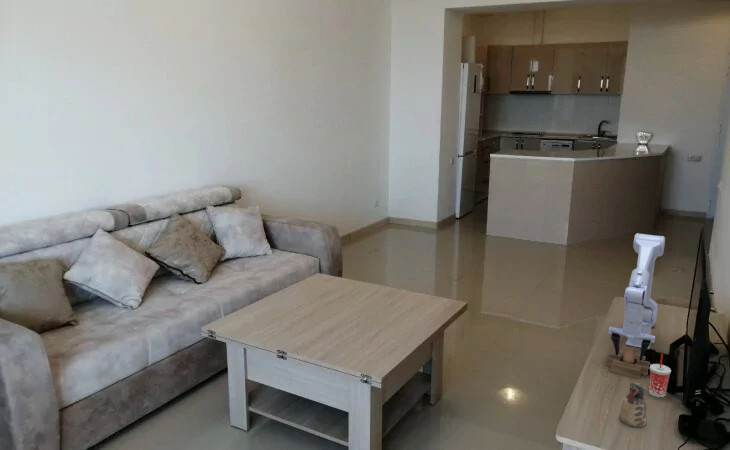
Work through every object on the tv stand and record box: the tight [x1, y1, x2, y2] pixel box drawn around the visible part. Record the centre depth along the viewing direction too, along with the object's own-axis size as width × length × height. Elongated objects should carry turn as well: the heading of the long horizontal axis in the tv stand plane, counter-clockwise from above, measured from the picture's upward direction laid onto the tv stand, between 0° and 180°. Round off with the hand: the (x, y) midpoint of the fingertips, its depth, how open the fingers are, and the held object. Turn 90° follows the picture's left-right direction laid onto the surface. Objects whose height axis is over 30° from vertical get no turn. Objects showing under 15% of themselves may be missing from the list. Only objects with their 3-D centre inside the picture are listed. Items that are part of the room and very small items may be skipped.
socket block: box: [606, 350, 651, 380], centre depth 198 cm, size 13×13×3 cm
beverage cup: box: [648, 353, 672, 398], centre depth 179 cm, size 6×6×14 cm
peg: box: [623, 347, 636, 364], centre depth 197 cm, size 4×4×7 cm
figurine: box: [619, 382, 647, 428], centre depth 165 cm, size 7×7×12 cm
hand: (628, 356), depth 197 cm, fingers open, 7 cm apart
